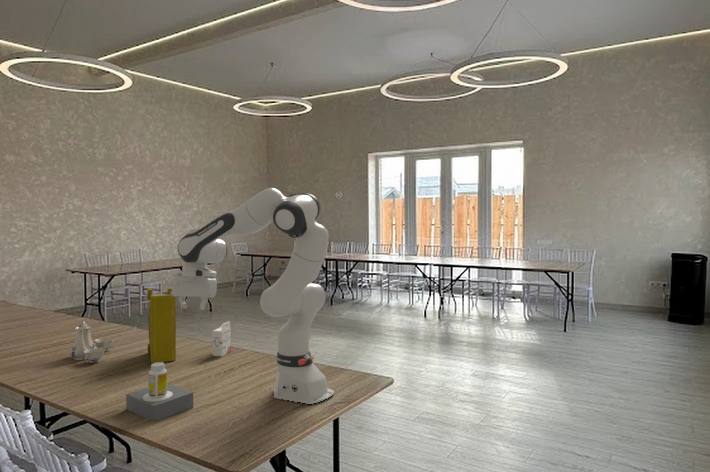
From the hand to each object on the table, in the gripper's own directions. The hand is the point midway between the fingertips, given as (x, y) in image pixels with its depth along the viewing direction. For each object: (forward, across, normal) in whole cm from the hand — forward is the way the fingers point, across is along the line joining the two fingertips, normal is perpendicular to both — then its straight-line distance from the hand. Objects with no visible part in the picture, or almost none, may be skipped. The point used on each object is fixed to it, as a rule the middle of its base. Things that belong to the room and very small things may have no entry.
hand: (192, 309), depth 177 cm
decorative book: (+23, -41, +21) cm, 51 cm away
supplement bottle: (+27, +9, -20) cm, 35 cm away
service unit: (+32, +7, -17) cm, 37 cm away
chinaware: (+23, -67, +5) cm, 72 cm away
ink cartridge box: (+22, -20, +38) cm, 48 cm away
